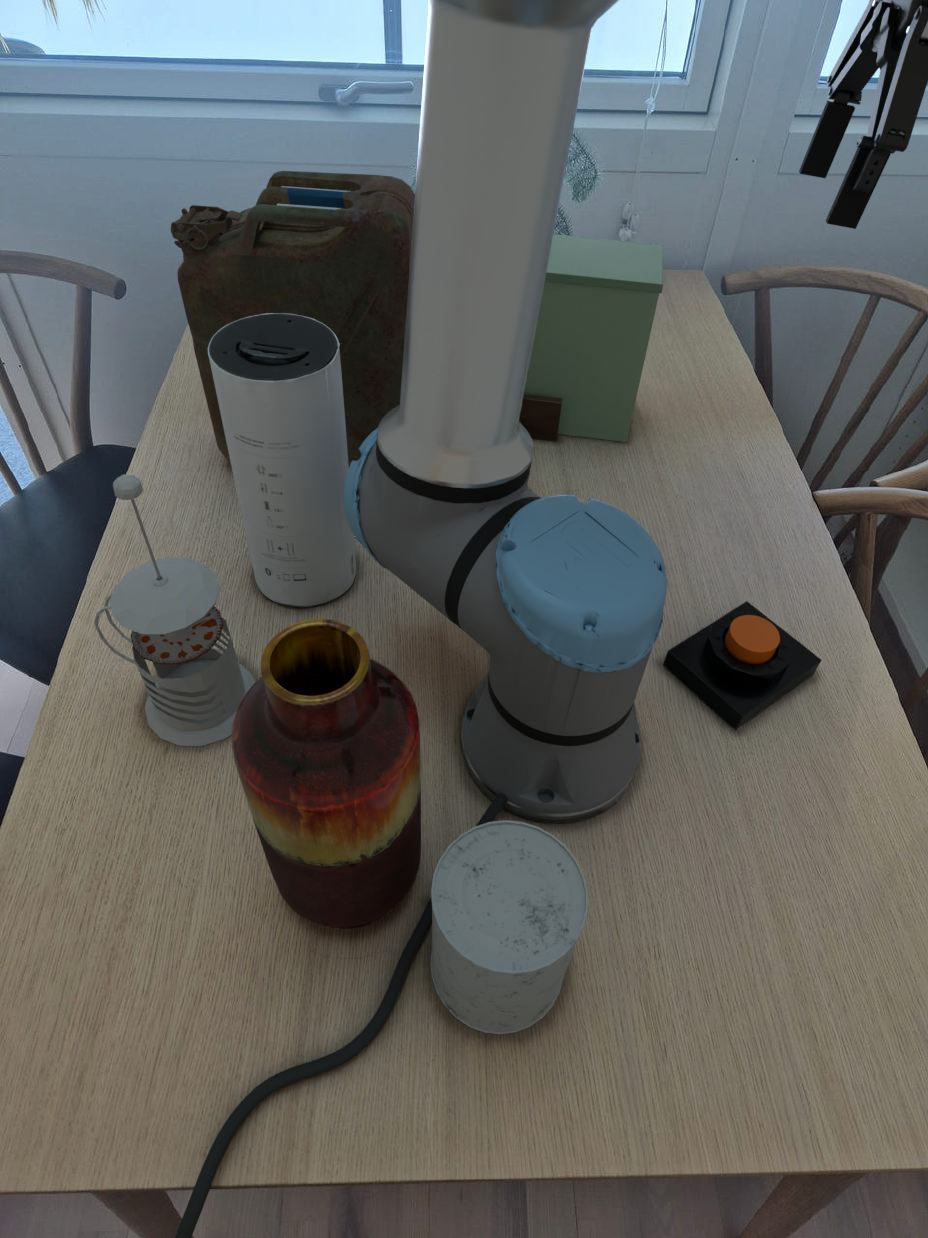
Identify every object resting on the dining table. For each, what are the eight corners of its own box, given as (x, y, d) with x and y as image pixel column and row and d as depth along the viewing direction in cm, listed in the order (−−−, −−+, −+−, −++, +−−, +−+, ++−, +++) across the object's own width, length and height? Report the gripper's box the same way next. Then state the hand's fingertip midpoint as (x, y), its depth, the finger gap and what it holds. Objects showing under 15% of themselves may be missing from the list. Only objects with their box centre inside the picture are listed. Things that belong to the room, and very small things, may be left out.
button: (751, 672, 73) (757, 659, 72) (714, 640, 75) (719, 628, 74) (784, 650, 75) (790, 637, 73) (746, 620, 77) (752, 607, 76)
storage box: (629, 400, 107) (662, 244, 92) (628, 443, 100) (663, 284, 85) (473, 382, 108) (481, 226, 93) (462, 423, 102) (469, 263, 87)
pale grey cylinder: (446, 1050, 55) (450, 991, 46) (418, 913, 61) (416, 836, 52) (581, 1016, 57) (611, 952, 48) (541, 885, 63) (560, 806, 54)
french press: (234, 755, 70) (163, 538, 51) (105, 732, 71) (-11, 511, 52) (273, 666, 76) (222, 443, 57) (154, 646, 77) (66, 421, 58)
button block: (735, 730, 73) (748, 704, 70) (662, 665, 78) (672, 637, 75) (813, 674, 78) (829, 647, 75) (740, 615, 82) (752, 587, 79)
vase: (389, 786, 68) (374, 561, 49) (445, 906, 62) (453, 701, 42) (258, 838, 65) (186, 618, 45) (303, 969, 58) (240, 779, 39)
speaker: (376, 555, 86) (361, 323, 67) (328, 623, 80) (297, 389, 60) (287, 527, 89) (248, 295, 69) (234, 591, 82) (174, 355, 63)
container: (423, 437, 100) (421, 173, 77) (412, 490, 93) (407, 218, 71) (239, 422, 101) (185, 156, 78) (216, 474, 94) (149, 199, 72)
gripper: (1053, -48, 57) (895, 257, 73) (943, -90, 75) (835, 163, 90) (948, -69, 57) (813, 241, 72) (863, -106, 74) (768, 150, 90)
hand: (825, 198), depth 81 cm, fingers open, 13 cm apart
